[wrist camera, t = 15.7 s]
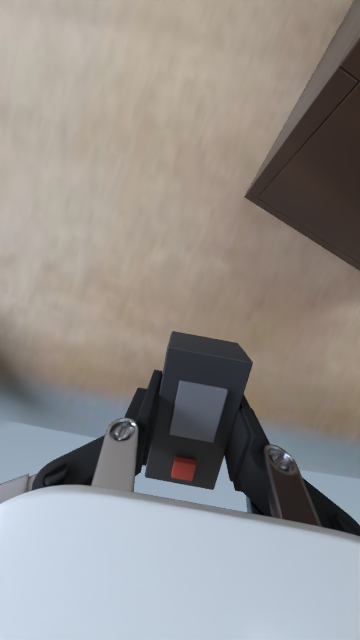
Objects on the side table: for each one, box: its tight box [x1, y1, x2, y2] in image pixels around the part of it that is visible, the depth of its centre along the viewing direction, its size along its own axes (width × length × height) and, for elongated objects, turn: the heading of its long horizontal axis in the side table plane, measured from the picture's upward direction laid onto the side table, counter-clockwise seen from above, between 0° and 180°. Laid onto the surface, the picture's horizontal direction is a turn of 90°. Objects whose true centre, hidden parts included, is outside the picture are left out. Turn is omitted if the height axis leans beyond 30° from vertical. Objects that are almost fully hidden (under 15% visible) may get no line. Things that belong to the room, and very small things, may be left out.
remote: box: [145, 331, 253, 490], centre depth 10 cm, size 8×4×3 cm, turn 170°
